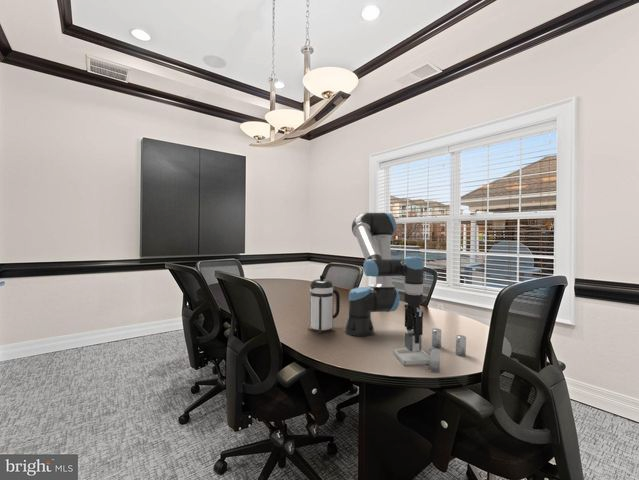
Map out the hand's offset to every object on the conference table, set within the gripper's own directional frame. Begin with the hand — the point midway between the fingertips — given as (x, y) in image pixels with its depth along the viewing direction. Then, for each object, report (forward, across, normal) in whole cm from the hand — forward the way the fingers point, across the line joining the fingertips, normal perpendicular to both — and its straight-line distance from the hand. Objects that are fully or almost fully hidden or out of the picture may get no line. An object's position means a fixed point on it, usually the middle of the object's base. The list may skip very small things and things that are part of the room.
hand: (412, 347), depth 131 cm
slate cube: (0, 0, 0) cm, 0 cm away
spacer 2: (+5, -11, -4) cm, 13 cm away
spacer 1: (+5, +12, -17) cm, 21 cm away
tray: (+5, 0, 0) cm, 5 cm away
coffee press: (+5, +42, +33) cm, 54 cm away
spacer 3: (+5, +2, -23) cm, 24 cm away
